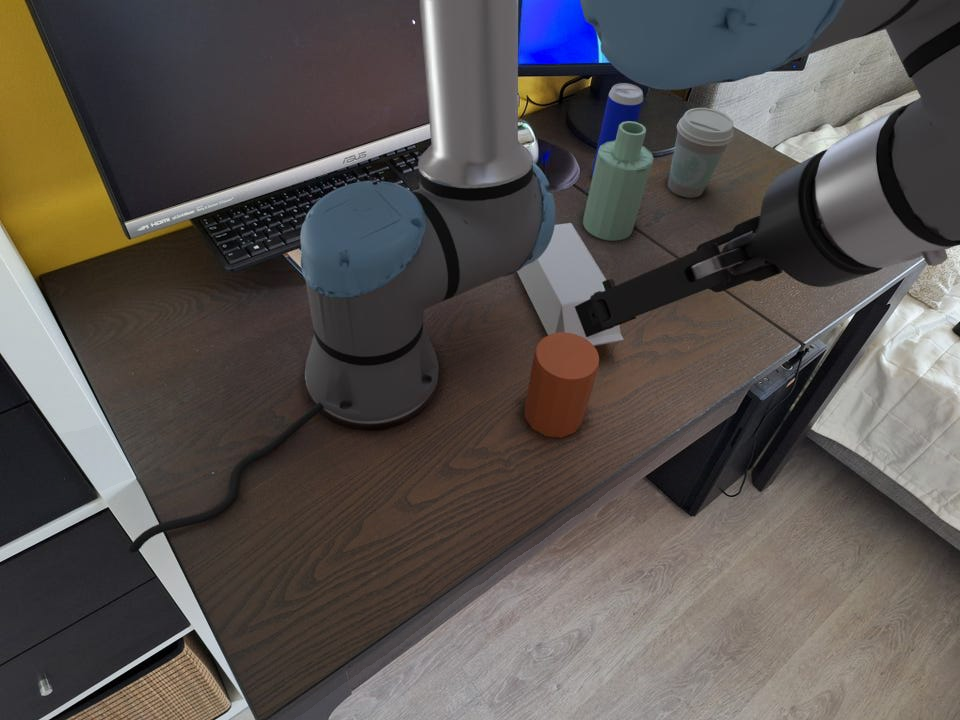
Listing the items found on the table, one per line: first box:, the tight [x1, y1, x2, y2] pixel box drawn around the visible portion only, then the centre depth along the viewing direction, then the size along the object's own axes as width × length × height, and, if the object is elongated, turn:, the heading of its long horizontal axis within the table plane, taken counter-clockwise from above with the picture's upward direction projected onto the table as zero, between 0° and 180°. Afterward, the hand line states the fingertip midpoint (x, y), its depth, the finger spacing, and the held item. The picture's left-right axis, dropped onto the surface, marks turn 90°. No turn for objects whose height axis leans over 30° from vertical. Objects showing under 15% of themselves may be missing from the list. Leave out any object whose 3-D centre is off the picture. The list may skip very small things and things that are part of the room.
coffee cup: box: [667, 107, 735, 199], centre depth 106 cm, size 8×8×12 cm
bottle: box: [582, 121, 655, 242], centre depth 96 cm, size 8×8×16 cm
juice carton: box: [516, 222, 625, 347], centre depth 85 cm, size 7×7×19 cm
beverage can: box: [591, 82, 644, 176], centre depth 105 cm, size 5×5×15 cm
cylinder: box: [524, 332, 600, 439], centre depth 73 cm, size 7×7×10 cm
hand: (649, 296), depth 57 cm, fingers open, 13 cm apart
